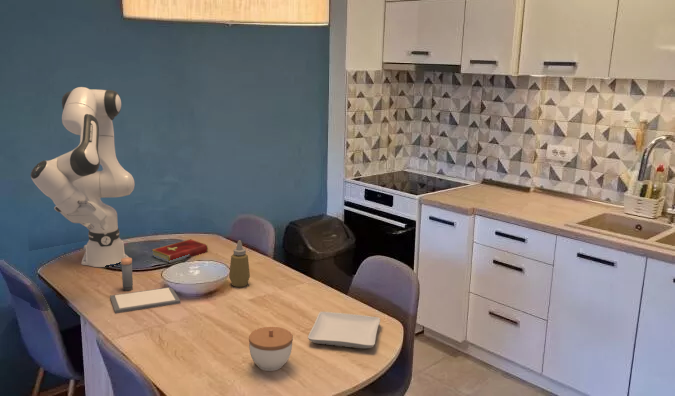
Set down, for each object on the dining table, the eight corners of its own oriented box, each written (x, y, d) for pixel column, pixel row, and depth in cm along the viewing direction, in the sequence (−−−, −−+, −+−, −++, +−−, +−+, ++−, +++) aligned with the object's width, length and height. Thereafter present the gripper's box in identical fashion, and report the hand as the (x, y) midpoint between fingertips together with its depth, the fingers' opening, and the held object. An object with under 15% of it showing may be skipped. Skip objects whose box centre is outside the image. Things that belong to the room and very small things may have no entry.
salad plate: (319, 319, 204) (319, 309, 204) (380, 325, 201) (381, 316, 200) (306, 347, 184) (306, 337, 183) (374, 355, 181) (374, 345, 180)
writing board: (110, 298, 214) (110, 295, 213) (171, 289, 224) (171, 286, 223) (115, 313, 202) (115, 310, 201) (180, 303, 212) (180, 300, 211)
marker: (121, 288, 223) (120, 258, 220) (132, 286, 224) (131, 256, 222) (123, 291, 220) (121, 261, 217) (134, 290, 221) (132, 260, 218)
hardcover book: (207, 253, 267) (207, 244, 266) (169, 264, 250) (169, 255, 249) (190, 247, 274) (190, 238, 273) (152, 258, 257) (151, 249, 256)
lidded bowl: (293, 354, 179) (293, 320, 176) (291, 376, 167) (291, 340, 164) (251, 353, 178) (251, 320, 176) (246, 375, 166) (246, 339, 164)
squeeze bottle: (248, 289, 227) (248, 244, 223) (227, 288, 227) (226, 243, 223) (251, 281, 235) (251, 238, 230) (231, 280, 235) (231, 237, 231)
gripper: (93, 193, 198) (120, 221, 205) (63, 196, 211) (90, 222, 218) (81, 207, 194) (109, 235, 202) (51, 208, 207) (79, 235, 215)
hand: (99, 228), depth 210 cm, fingers open, 8 cm apart
